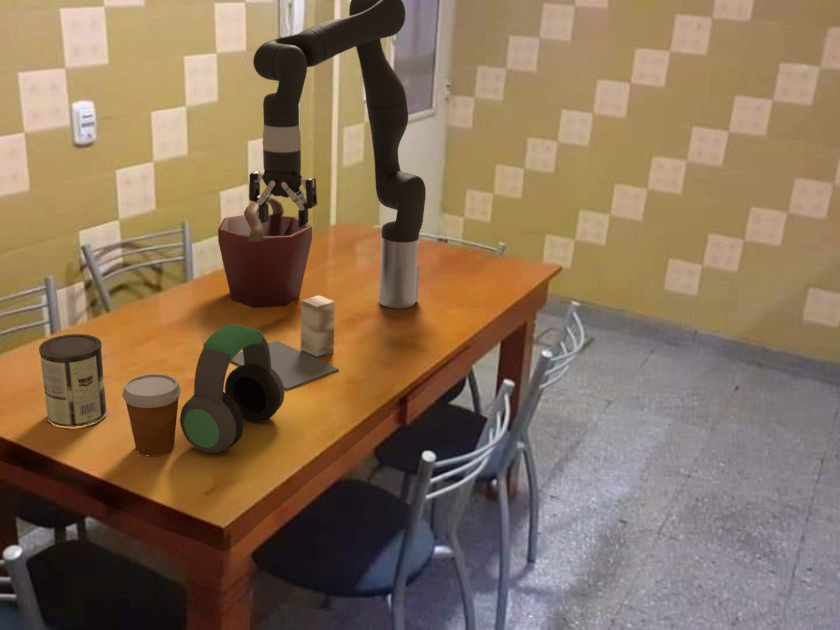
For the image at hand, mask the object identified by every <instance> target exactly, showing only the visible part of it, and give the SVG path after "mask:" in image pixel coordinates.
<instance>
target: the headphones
mask: <svg viewBox="0 0 840 630" xmlns="http://www.w3.org/2000/svg"><path fill="white" fill-rule="evenodd" d="M267 343H268V341H267V340H266V338H265V337H264V336H263V334H262V331H261V330H260V329H257V328H254V327H251V326H250V327H249V326H245V325H240V324H234V323H233V324H228V325H225V326H222V327H220V328H219V329H217V330H216V331H214V332H213V333H212V334H211V335H210V336H209V337H208V338H207V339H206V340H205V342H204V343H203V346H202V350H201V353H200V354H199V356H198V361H197V364H196V369H195V373H194V383H193V384H194V386H193V394H192V396H191V397H190V398H189V399H188V400H186V402H185V403H184V404H183V406H182V408H181V411H180V416H179V422H180V428H181V432H182V433H183V436H184V437H185V438H186V440H187V441H188V442H189V443H190V444H191V446H192V447H194V448H195V449H197V450H198V451H200V452H203V453H206V454H218V453H220V452H223V451H225V450H228V449H230V448H231V447H234V446H235V445H236V444H237V443H238V442H239V441H240V440H241V438H242V437H243V434H244V431H245V421H247V422H250V423H262V422H263V423H264V422H266V421H269V420H270V419H271V418H272V417H273V416H274V415H275V414H276V413H277V411H278V410H279V409H280V408H281V406H282V404H283V403H284V399H285V389H284V386H283V383H282V381H281V378H280V377H279V375H278V374H277V373H276V372H275V371H274V370H273V369H272V368H271V359H270V351H269V347H268V344H267ZM240 352H243V355H244V365H242V366H237V367H236V368H234V369H233V370H231V371H230V372H229V374H228V375H227V372H228V369H229V365H230V364H231V363H232V362H231V361H232V359H233V358H234V357H235V356H236V354H237V353H240ZM226 375H227V377H226ZM225 379H226V381H225ZM224 390H225V392H224Z"/></svg>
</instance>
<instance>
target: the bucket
mask: <svg viewBox="0 0 840 630" xmlns="http://www.w3.org/2000/svg"><path fill="white" fill-rule="evenodd" d="M267 204H268V205H270V206H271V210H272V213H269V220H268V221H267V222H266V223H262V222H261V220H260V219H259V208H258V204H257V203H256V202H254V201H250V203H249V204H248V205H247V206H246V207H245V210H244V212H243V214H241V215H237V216H230V217H229V216H228V217H224V218H223V219H222V221H221V223H220V225H219V227H218V229H217V236H218V237H217V238H218V240H217V241H218V245H219V250H220V251H219V252H220V255H221V259H222V263H223V267H224V272H225V277H226V281H227V286H228V289H229V295H230V299H231V301H233V302H235V303H238V304H241V305H244V306H247V307H249V308H253V309H259V308H260V309H261V308H262V309H263V308H281V307H286V306H288V305H289V304H291V303H293V302H294V301H296V300H297V299H299V298H300V295H301V290H302V287H303V283H304V279H305V277H304V276H305V272H306V267H307V263H308V259H309V254H310V250H311V244H312V240H313V227H312V225H310V224H308V223H307V224H306V226H304V227H303V228H300V227H299V226H298V216H293V215H285V214H284V211H285V210H284V207H283V204H282V202H281V201H279V200H277V199H276V198H274V197H270V198H269V200H268V201H267Z"/></svg>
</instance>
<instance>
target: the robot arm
mask: <svg viewBox="0 0 840 630" xmlns="http://www.w3.org/2000/svg"><path fill="white" fill-rule="evenodd" d="M348 14H349V16H345V17H340V18H335V19H331V20H327V21H323V22H321V23H320V22H319V23H318V24H315V25H313V26H311V27H309V28H306V29H304V30H302V31H301V32H298V33H296V34H292V35H291V34H290V35H286V36H283V37H278V38H274V39H271V40H269V41H266V42H264V43H262V44H261V45H260V46H259V47H258V48H257V50H256V51H255V53H254V56H253V61H252V62H253V68H254V70H255V72H256V73H257V74H258V75H259V77H261V78H263V79H264V80H269V81H270V80H271V81H275V82H278V86H277V89H276V92H271V93H268V94H266V95H265V96H264V97H263V103H262V108H263V112H262V113H263V130H262V155H263V156H262V157H263V158H262V159H263V161H262V162H263V165H262V166H263V171H264V172H263V173H261V172H260V171H259V170H255V171H253V172H250V174H249V181H248V183H249V185H248V186H249V187H248V188H249V189H248V199H249V201H250V202H252V201H254V202H256V203H257V204H258V208H259V212H258V213H259V219H260V220H261V222H262V223H266V222H267V221H268V220H269V214H270V213H269V203H267V201H268V200H269V198H272V196H273V197H282V198H290V200H291V201H292V202H293V203H295V205H296V207H297V208H298V209H299V210H298V211H297V213H298V215H297V217H298V226H299V227H300V228H303V227H304V226H306V224H308V223H309V209H312V208H314V207H316V206H317V205H318V198H317V197H318V195H317V182H316V181H317V180H316V177H313V176H312V177H309V178H306V177H305V178H304V177H302V175H301V169H302V156H301V155H302V154H301V153H302V151H301V146H302V145H301V140H302V139H301V130H300V101H301V99H302V93H303V89H304V85H305V81H306V77H307V72H308V68H312V67H315V66H317V65H320V64H321V63H323V62H325V61H328V60H329V59H332V58H333V57H335V56H337V55H339V54H341V53H343V52H346V51H348V50H351V49H353V48H356V53H357V55H358V59H359V60H358V61H359V66H360V70H361V76H362V81H363V88H364V93H365V104H366V109H367V115H368V117H367V118H368V121H369V127H370V133H371V141H372V142H371V143H372V149H373V157H374V179H375V191H376V196H377V199H378V201H379V203H380V204H381V205H382V206H384V207H386V208H389V209H391V210H395V211H396V219H395V220H394V221H393V220H392V221H389V222H386V223H384V224H383V225H382V227H381V239H380V240H381V241H380V243H381V244H380V266H379V288H378V289H379V290H378V302H379V304H380V306H381V305H382V306H383V307H386V308H390V309H407V308H411V307H413V306H414V305H416V302H418V300H419V299H418V298H419V287H420V285H419V284H420V283H419V282H420V281H419V280H420V269H421V267H420V265H418V259H419V244H420V243H419V241H420V232H421V229H422V227H423V222H424V215H425V205H426V197H427V196H426V195H427V194H426V193H427V192H426V184H425V182H424V180H423V179H422V177H420V176H419V175H416V174H413V173H409V172H403V171H402V170H401V167H400V161H399V146H400V144H401V143H400V142H402V141H401V140H402V139H403V136H404V134H405V132H406V129H407V126H408V124H409V110H408V102H407V95H406V90H405V88H404V86H403V84H402V81H401V80H400V78H399V77H398V75H397V73H396V72H395V70H394V69H393V67H392V66H391V64H390V63H389V61H388V59H387V58H386V55H385V53H384V49H383V45H382V41H381V39H384V38H389V37H393V36H395V35H397V34H398V33H399V32H400V31H401V30H402V28H403V26H404V24H405V20H406V8H405V4H404V2H403V0H350V3H349V13H348ZM262 182H263V183H264V185H265V186H266V188H264V190H263V191H262V193H260V191H261V183H262ZM301 186H303V189H305V194H304V192H303V191H302V189H301V188H300V187H301Z"/></svg>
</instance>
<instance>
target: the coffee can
mask: <svg viewBox="0 0 840 630" xmlns="http://www.w3.org/2000/svg"><path fill="white" fill-rule="evenodd" d="M102 344H103V343H102V341H101V339H99V337H96V336H94V335H89V334H85V333H84V334H81V333H79V334H78V333H76V334H75V333H73V334H63V335H59V336H55V337H51V338H49V339H47V340H45V341H43V342H42V343H40V345H39V347H38V351H39V352H38V353H39V355H40V360H41V363H40V364H41V372H42V379H43V388H44V396H45V397H44V398H45V404H46V415H47V417H48V420H49V421H50V422H51V423H53V424H55V425H59V426H65V427H66V426H67V427H76V426H84V425H89V424H92V423H96V422H98V421H100V422H102V421H103V420H104V419H105V418H106V417H107V415H106V414H108V410H107V404H106V403H107V401H106V391H105V379H104V365H103V355H102V347H103V345H102ZM105 416H106V417H105ZM104 417H105V418H104ZM103 418H104V419H103ZM102 419H103V420H102ZM48 420H47V421H48ZM101 420H102V421H101Z"/></svg>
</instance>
